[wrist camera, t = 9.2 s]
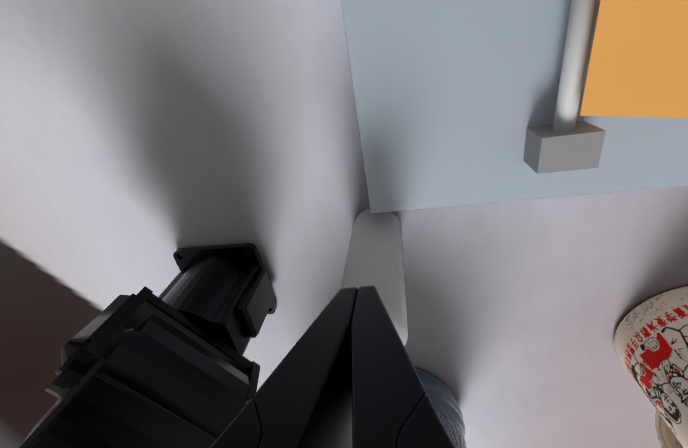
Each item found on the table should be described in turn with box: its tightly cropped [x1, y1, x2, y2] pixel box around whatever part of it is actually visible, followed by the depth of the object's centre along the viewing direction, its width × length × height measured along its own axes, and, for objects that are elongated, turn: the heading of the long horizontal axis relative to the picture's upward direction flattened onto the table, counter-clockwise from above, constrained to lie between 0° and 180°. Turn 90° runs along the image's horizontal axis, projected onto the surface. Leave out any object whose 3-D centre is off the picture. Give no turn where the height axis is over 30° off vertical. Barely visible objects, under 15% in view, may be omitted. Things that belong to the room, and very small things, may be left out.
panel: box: [341, 0, 688, 213], centre depth 14 cm, size 18×14×4 cm
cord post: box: [341, 208, 408, 346], centre depth 18 cm, size 3×3×9 cm
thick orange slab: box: [580, 0, 688, 118], centre depth 11 cm, size 2×5×5 cm
